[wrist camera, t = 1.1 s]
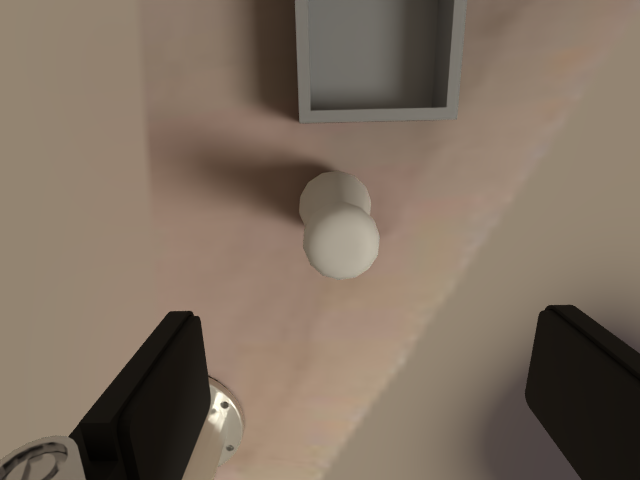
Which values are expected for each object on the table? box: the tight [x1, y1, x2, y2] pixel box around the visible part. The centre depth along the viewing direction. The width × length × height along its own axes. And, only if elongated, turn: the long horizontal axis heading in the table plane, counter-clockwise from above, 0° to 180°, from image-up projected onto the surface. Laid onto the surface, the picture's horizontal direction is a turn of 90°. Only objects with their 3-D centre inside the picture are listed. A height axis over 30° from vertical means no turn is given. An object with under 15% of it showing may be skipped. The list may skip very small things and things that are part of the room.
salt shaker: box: [299, 171, 380, 280], centre depth 26 cm, size 6×6×13 cm
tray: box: [295, 0, 467, 123], centre depth 26 cm, size 11×11×4 cm
